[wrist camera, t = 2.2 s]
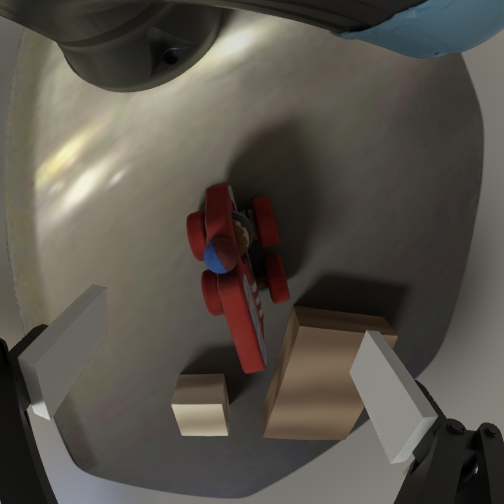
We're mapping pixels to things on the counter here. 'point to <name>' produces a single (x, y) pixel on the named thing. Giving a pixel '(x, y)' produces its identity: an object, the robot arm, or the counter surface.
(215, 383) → the birch block
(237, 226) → the toy fire truck
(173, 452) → the counter surface
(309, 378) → the plinth
